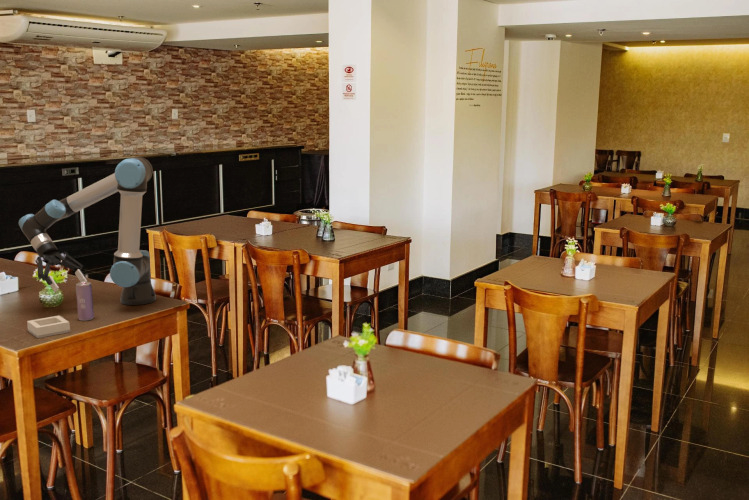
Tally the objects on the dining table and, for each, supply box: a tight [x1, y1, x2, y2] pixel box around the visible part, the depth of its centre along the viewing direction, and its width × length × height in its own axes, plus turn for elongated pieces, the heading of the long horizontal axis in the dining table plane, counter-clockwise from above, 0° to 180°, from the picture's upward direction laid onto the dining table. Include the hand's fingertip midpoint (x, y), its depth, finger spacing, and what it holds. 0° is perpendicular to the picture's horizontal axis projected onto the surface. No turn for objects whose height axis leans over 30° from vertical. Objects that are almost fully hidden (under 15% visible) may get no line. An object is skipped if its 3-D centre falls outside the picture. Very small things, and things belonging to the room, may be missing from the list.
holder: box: [26, 315, 71, 339], centre depth 283 cm, size 12×12×4 cm
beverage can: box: [75, 281, 95, 322], centre depth 299 cm, size 6×6×15 cm
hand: (71, 286), depth 301 cm, fingers open, 13 cm apart
